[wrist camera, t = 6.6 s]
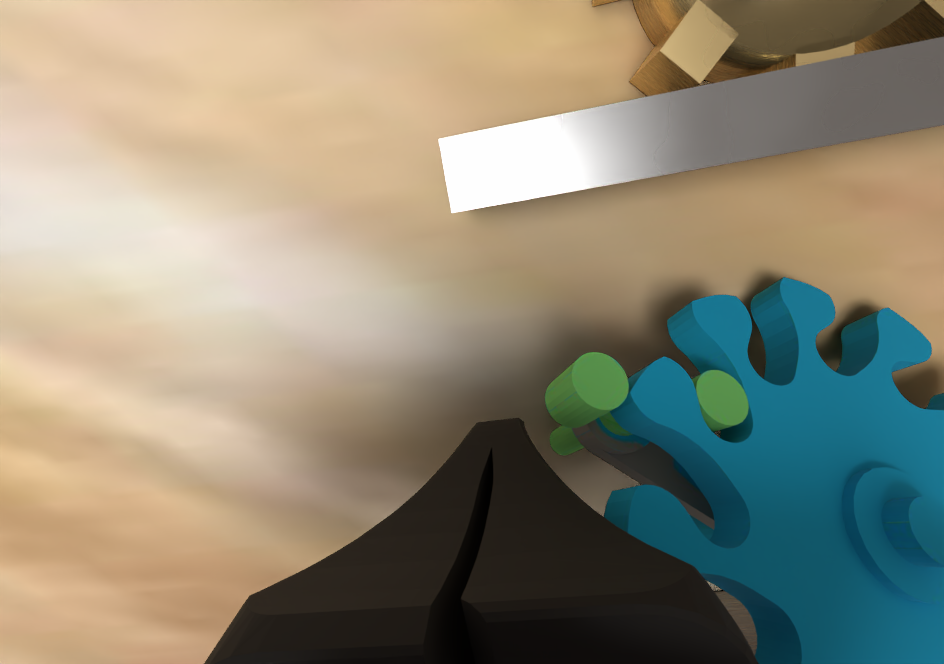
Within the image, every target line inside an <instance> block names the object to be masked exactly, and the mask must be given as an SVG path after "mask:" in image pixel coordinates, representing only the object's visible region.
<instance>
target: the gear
mask: <svg viewBox="0 0 944 664" xmlns="http://www.w3.org/2000/svg"><path fill="white" fill-rule="evenodd" d="M751 313H752V316H753V319H754V321H755V323H756V324H757V326H758V328H759V331H760V333H761V336H762V339H763V342H764V347H765V351H766V369H765V376H764V379H763V378H762V377H761V376H759V375H758V373H757V372H756V371H755V370H754V369H753V367H752V365H751V363H750V361H749V358H748V353H747V350H748V344H749V340H750V336H751V332H752V321H751V317H750V314H749V312H748V310H747V309H746V307H745V306H744V304H743V303H742V302H741V301H740V300H739V299H738V298H737V297H736V296H730V295H714V296H708V297H704V298H701V299H697V300H694V301H692V302H690V303H689V304H688V305H686V306H685V307H684V308H682V309H681V310H680V311H678V312H677V313H676V314H674V315H673V316H672V317H670V318H669V319H668V320H667V327H668V332H669V335H670V337H671V339H672V341H673V342H674V343H675V345H676V346H677V347H678V348H679V349H680V350H681V351H682V352H683V353H684V354H685V355H686V356H687V357H688V358H689V359H690V361H691V362H692V363H693V364H694V365H695V367H696V368H697V369H698V371H699V372H700V375H698V376H696V377H694V378H692V379H691V378H690V376H689V375H688V373H687V372H686V371H685V370H684V369H683V368H682V367H681V366H680V365H679V364H678V363H676V362H675V361H673V360H672V359H670V358H667V357H665V356H664V357H662V358H660V359H658V360H656V361H654V362H653V363H651V364H649V365H648V366H646V367H645V368H643V369H642V370H640V371H638V372H637V373H635V374H634V375H632V376H631V377H630V378H628V377H627V376H626V373H625V371H624V370H623V368H622V367H621V365H620V364H619V363H618V362H617V361H616V360H614V359H613V358H612V357H610V356H608V355H606V354H603V353H599V352H590V353H586V354H584V355H582V356H580V357H579V358H578V359H577V360H576V361H575V362H574V363H573V364H571V365H570V366H569V367H568V368H567V369H566V370H565V371H564V372H562V373H561V374H560V375H559V376H558V377H557V378H556V379H555V380H553V381H552V382H551V383H550V384H549V386H548V388H547V390H546V393H545V403H546V407H547V410H548V412H549V414H550V415H551V416H552V418H553V419H554V420H555V421H556V422H558V423H559V424H561V426H560V427H558V428H556V429H555V430H554V431H553V432H552V433H551V435H550V445H551V447H552V449H553V450H554V451H555V452H556V453H557V454H559V455H569V454H571V453H574V452H576V451H578V450H580V449H583V448H586V449H587V450H588V451H590V452H591V453H593V454H595V455H596V456H598V457H599V458H601V459H602V460H604V461H606V462H607V463H609V464H610V465H612V466H614V467H615V468H617V469H618V470H620V471H622V472H623V473H625V474H626V475H628V476H629V477H631V478H633V479H634V480H636V481H637V482H639V483H641V484H642V485H640V486H635V487H630V488H625V489H620V490H615V491H612V492H611V495H610V497H609V499H608V502H607V504H606V509H605V513H604V518H606V519H607V520H609V521H610V522H611V523H613V524H614V525H616V526H617V527H619V528H620V529H622V530H624V531H625V532H627V533H629V534H631V535H632V536H634V537H636V538H637V539H639V540H641V541H643V542H645V543H646V544H648V545H650V546H653V547H655V548H657V549H659V550H661V551H663V552H665V553H667V554H670V555H672V556H674V557H676V558H678V559H680V560H682V561H684V562H686V563H689V564H691V565H693V566H694V567H695V568H696V569H697V570H698V571H699V573H700V574H701V575H702V576H703V578H704V579H705V580H707V581H709V582H711V583H712V584H714V585H716V586H718V587H719V588H721V589H722V590H724V591H725V592H727V593H729V594H730V595H732V596H733V597H735V598H736V599H737V600H739V601H740V602H741V603H742V604H743V605H744V606H745V608H746V609H747V610H748V612H749V614H750V615H751V617H752V620H753V622H754V625H755V629H756V633H757V648H756V654H755V658H756V660H757V662H758V663H759V664H944V393H941V394H938V395H935V396H933V397H932V398H931V399H930V402H929V404H928V406H927V408H926V409H922V408H919V407H917V406H915V405H913V404H912V403H910V402H909V401H908V400H907V399H905V398H904V397H903V396H902V394H901V393H900V392H899V391H898V389H897V387H896V386H895V384H894V381H893V378H892V372H894V371H897V370H900V369H903V368H906V367H909V366H912V365H915V364H918V363H922V362H924V361H927V360H928V359H929V358H930V356H931V352H932V348H931V343H930V342H929V341H928V340H927V339H926V338H925V336H924V335H923V334H922V333H921V332H920V331H918V330H917V329H916V328H915V327H914V326H913V325H912V324H910V323H909V322H908V321H906V320H905V319H904V318H903V317H901V316H900V315H898V314H897V313H895V312H894V311H892V310H891V309H890V308H884V309H881V310H879V311H877V312H875V313H873V314H870V315H868V316H866V317H864V318H862V319H859V320H857V321H855V322H853V323H851V324H848V325H847V326H845V327H844V328H843V330H842V333H841V340H842V359H841V362H840V366H839V368H838V369H837V371H836V372H835V371H833V370H832V369H831V368H830V367H828V366H827V365H826V364H825V362H824V361H823V360H822V358H821V357H820V355H819V353H818V351H817V349H816V343H815V341H816V336H817V334H818V333H819V332H820V331H821V330H823V329H824V328H826V327H827V326H829V325H830V324H831V323H832V322H833V320H834V318H835V307H834V304H833V301H832V299H831V298H830V296H829V295H828V294H826V293H825V292H823V291H821V290H820V289H818V288H816V287H813V286H811V285H809V284H806V283H803V282H800V281H797V280H793V279H789V278H785V277H783V278H782V279H780V280H779V281H777V282H776V283H774V284H772V285H771V286H769V287H768V288H766V289H765V290H763V291H762V292H760V293H758V294H757V295H755V296H754V298H753V299H752V301H751ZM719 430H720V431H721V434H720V438H719V437H718V436H717V435H715V434H714V433H713V432H715V431H719ZM689 514H690V515H689Z"/></svg>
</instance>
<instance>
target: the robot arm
mask: <svg viewBox="0 0 944 664" xmlns="http://www.w3.org/2000/svg"><path fill="white" fill-rule="evenodd" d="M204 664H759V663H758V662H757V660H756V658H755V655H754V653H753V651H752V649H751V647H750V645H749V644H748V642H747V640H746V638H745V636H744V635H743V633H742V631H741V630H740V628H739V627H738V625H737V624H736V622H735V621H734V619H733V618H732V616H731V615H730V613H729V612H728V610H727V609H726V608H725V606H724V605H723V603H722V602H721V600H720V599H719V598H718V596H717V595H716V593H715V592H714V591H713V590H712V588H711V587H710V586H709V584H708V583H707V582H706V580H705V579H704V578H703V576H702V575H701V574H700V573H699V571H698V570H697V569H696V568H695V567H694V566H693V565H691V564H689V563H686V562H684V561H682V560H680V559H678V558H676V557H674V556H672V555H670V554H667V553H665V552H663V551H661V550H659V549H657V548H655V547H653V546H650V545H648V544H646V543H645V542H643V541H641V540H639V539H637V538H636V537H634V536H632V535H631V534H629V533H627V532H625V531H624V530H622V529H620V528H619V527H617V526H616V525H614V524H613V523H611V522H610V521H609V520H607V519H606V518H604V517H603V516H601V515H600V514H599V513H597V512H596V511H594V510H593V509H592V508H591V507H590V506H588V505H587V504H586V503H585V502H584V501H583V500H581V499H580V498H579V497H578V496H577V495H576V494H575V493H574V492H573V491H572V490H571V489H569V488H568V487H567V486H566V485H565V483H564V482H563V481H562V480H561V479H560V478H559V477H558V476H557V475H556V474H555V472H554V471H553V470H552V469H551V468H550V467H549V465H548V464H547V463H546V462H545V460H544V459H543V457H542V456H541V455H540V453H539V452H538V450H537V449H536V448H535V446H534V444H533V443H532V441H531V439H530V438H529V436H528V434H527V432H526V429H525V427H524V422H523V421H522V420H521V419H520V418H513V419H504V420H495V421H487V422H478V423H476V425H475V426H474V427H473V428H472V430H471V431H470V432H469V433H468V435H467V436H466V437H465V439H464V440H463V441H462V443H461V444H460V445H459V447H458V448H457V449H456V450H455V452H454V453H453V454H452V455H451V456H450V458H449V459H448V460H447V461H446V463H445V464H444V465H443V466H442V467H441V468H440V469H439V470H438V471H437V472H436V473H435V475H434V476H433V477H432V478H431V479H430V480H429V481H428V482H427V483H426V484H425V485H424V486H423V487H422V488H421V489H420V490H419V491H418V492H417V493H416V494H415V495H414V496H413V497H411V498H410V499H409V500H408V501H407V502H406V503H404V504H403V505H402V506H401V507H400V508H399V509H397V510H396V511H395V512H394V513H392V514H391V515H390V516H388V517H387V518H386V519H384V520H383V521H381V522H380V523H379V524H377V525H376V526H374V527H373V528H372V529H370V530H369V531H368V532H366V533H365V534H363V535H362V536H361V537H359V538H357V539H356V540H354V541H353V542H351V543H350V544H348V545H346V546H345V547H343V548H342V549H340V550H338V551H337V552H335V553H333V554H331V555H330V556H328V557H326V558H324V559H323V560H321V561H319V562H318V563H316V564H314V565H312V566H310V567H308V568H306V569H304V570H302V571H300V572H298V573H296V574H294V575H292V576H290V577H288V578H286V579H284V580H282V581H280V582H278V583H276V584H274V585H272V586H270V587H268V588H266V589H264V590H261V591H259V592H257V593H255V594H252V595H250V596H249V597H248V599H247V600H246V602H245V603H244V604H243V606H242V607H241V609H240V610H239V612H238V613H237V615H236V616H235V618H234V619H233V621H232V622H231V624H230V625H229V627H228V628H227V630H226V632H225V633H224V635H223V636H222V638H221V639H220V641H219V642H218V644H217V645H216V647H215V648H214V650H213V651H212V653H211V654H210V656H209V657H208V659H207V660H206V662H205V663H204Z"/></svg>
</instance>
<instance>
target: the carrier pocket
mask: <svg viewBox="0 0 944 664" xmlns="http://www.w3.org/2000/svg"><path fill="white" fill-rule="evenodd" d="M614 1H618V0H592V6H597V5H601V4H605V3H609V2H614ZM633 3H634V7H635V10H636V12H637V15H638V18H639V20H640V23H641V25H642V27H643V28H644V30H645V32H646V34H647V35H648V37H649V39H650V40H651V41H652V43H653V44H654V45H655V47H654V48H653V50H652V51H651V52H650V54H649V55H648V57H647V58H646V59H645V61H644V62H643V63H642V65H641V66H640V68H639V69H638V70H637V72H636V73H635V74H634V76H633V77H632V79H631V80H630V81H629V82H631V83H632V84H633V85H634V86H635V87H637V88H638V89H639V90H640V91H642V92H643V93H644V94H645V95H647V96H648V97H643V98H638V99H633V100H628V101H623V102H618V103H613V104H608V105H603V106H598V107H594V108H589V109H584V110H579V111H574V112H569V113H564V114H559V115H554V116H549V117H544V118H539V119H534V120H529V121H524V122H519V123H514V124H510V125H505V126H500V127H495V128H490V129H485V130H480V131H475V132H470V133H465V134H460V135H455V136H450V137H445V138H440V139H438V140H439V145H440V151H441V156H442V162H443V168H444V173H445V179H446V184H447V190H448V195H449V201H450V207H451V212H452V213H455V212H461V211H466V210H472V209H477V208H483V207H489V206H494V205H500V204H505V203H511V202H517V201H522V200H528V199H533V198H539V197H545V196H550V195H556V194H561V193H567V192H572V191H578V190H584V189H589V188H595V187H600V186H606V185H612V184H617V183H623V182H628V181H634V180H639V179H645V178H651V177H656V176H662V175H667V174H673V173H679V172H684V171H690V170H695V169H701V168H706V167H712V166H718V165H723V164H729V163H734V162H740V161H746V160H751V159H757V158H762V157H768V156H773V155H779V154H785V153H790V152H796V151H801V150H807V149H813V148H818V147H824V146H829V145H835V144H840V143H846V142H852V141H857V140H863V139H868V138H874V137H880V136H885V135H891V134H896V133H902V132H908V131H913V130H919V129H924V128H930V127H935V126H941V125H944V0H633ZM703 80H707V81H710V82H715V83H712V84H707V85H702V86H698V85H699V84H700V83H701V82H702V81H703ZM696 86H697V87H696ZM715 593H716V595H717V596H718V598H719V599H720V600H721V602H722V603H723V605H724V606H725V608H726V609H727V610H728V612H729V613H730V615H731V616H732V618H733V619H734V621H735V622H736V624H737V625H738V627H739V628H740V630H741V631H742V633H743V635H744V636H745V638H746V640H747V642H748V644H749V645H750V647H751V649H752V651H753V653H754V655H755V654H756V648H757V633H756V629H755V625H754V622H753V620H752V617H751V615H750V614H749V612H748V610H747V609H746V608H745V606H744V605H743V604H742V603H741V602H740V601H739V600H737V599H736V598H735V597H733V596H732V595H730V594H729V593H727V592H725V591H722V592H715Z"/></svg>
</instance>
